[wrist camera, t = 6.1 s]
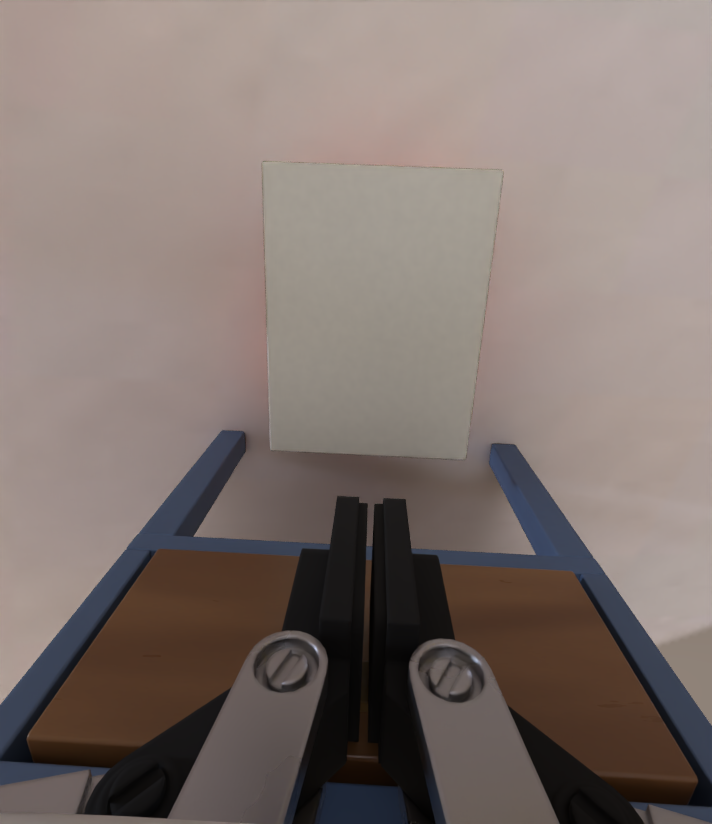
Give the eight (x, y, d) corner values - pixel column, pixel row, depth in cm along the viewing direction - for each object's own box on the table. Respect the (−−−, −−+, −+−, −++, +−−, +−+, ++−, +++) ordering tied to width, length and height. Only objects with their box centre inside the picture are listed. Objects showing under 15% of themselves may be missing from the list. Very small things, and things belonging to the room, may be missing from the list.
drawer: (156, 538, 14) (19, 726, 9) (575, 561, 14) (707, 769, 8) (186, 766, 18) (102, 1002, 12) (520, 788, 17) (586, 1038, 12)
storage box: (288, 180, 20) (261, 160, 15) (472, 187, 20) (505, 169, 15) (291, 408, 23) (269, 451, 18) (446, 415, 23) (466, 461, 18)
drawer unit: (217, 425, 24) (-111, 810, 8) (520, 440, 23) (839, 874, 7) (231, 616, 28) (39, 1117, 12) (486, 630, 28) (642, 1166, 12)
